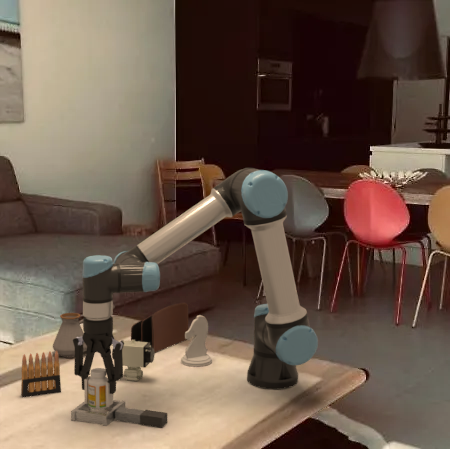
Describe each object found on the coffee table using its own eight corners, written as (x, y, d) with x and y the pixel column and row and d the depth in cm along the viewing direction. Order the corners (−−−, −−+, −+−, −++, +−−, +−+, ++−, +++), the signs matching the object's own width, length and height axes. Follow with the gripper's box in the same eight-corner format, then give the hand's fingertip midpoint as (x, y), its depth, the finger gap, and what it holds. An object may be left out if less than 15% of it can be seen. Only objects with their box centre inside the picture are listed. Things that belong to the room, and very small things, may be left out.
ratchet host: (172, 417, 196) (172, 407, 195) (156, 433, 185) (156, 423, 185) (91, 405, 203) (91, 395, 202) (71, 420, 192) (71, 410, 192)
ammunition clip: (22, 397, 207) (21, 355, 205) (21, 395, 209) (20, 353, 207) (61, 392, 212) (60, 351, 210) (59, 390, 213) (59, 349, 211)
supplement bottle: (110, 402, 198) (110, 366, 197) (108, 410, 193) (107, 373, 192) (90, 402, 198) (89, 366, 197) (87, 410, 193) (86, 373, 191)
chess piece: (175, 360, 241) (175, 314, 239) (201, 355, 246) (202, 310, 244) (190, 369, 233) (191, 321, 230) (217, 363, 238) (218, 317, 236)
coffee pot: (60, 361, 237) (59, 315, 235) (47, 351, 247) (46, 307, 245) (122, 350, 249) (121, 306, 247) (107, 341, 259) (106, 299, 257)
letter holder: (188, 339, 263) (189, 300, 261) (153, 354, 247) (153, 312, 245) (166, 334, 269) (166, 296, 267) (130, 348, 252) (129, 307, 250)
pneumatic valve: (150, 383, 219) (150, 343, 218) (111, 380, 222) (111, 340, 220) (155, 377, 225) (155, 338, 223) (118, 373, 227) (118, 335, 225)
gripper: (137, 316, 193) (137, 402, 196) (73, 309, 198) (74, 393, 202) (124, 323, 186) (124, 413, 189) (58, 316, 191) (60, 403, 195)
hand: (98, 403), depth 196 cm, fingers closed on supplement bottle, 5 cm apart
